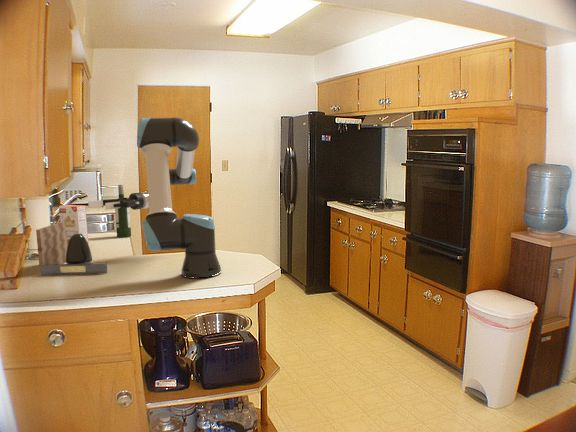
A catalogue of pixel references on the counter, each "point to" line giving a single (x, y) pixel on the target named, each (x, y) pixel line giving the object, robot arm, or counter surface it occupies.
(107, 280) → the counter surface
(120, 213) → the wine bottle
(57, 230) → the shelf side panel
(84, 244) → the black rounded dome
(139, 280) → the counter surface
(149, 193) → the robot arm
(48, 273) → the price rail
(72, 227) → the cracker box
